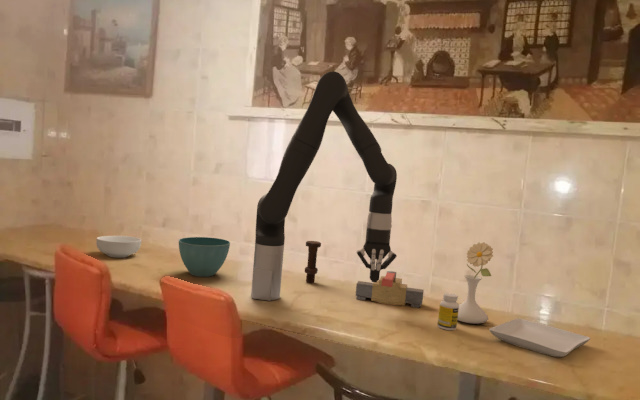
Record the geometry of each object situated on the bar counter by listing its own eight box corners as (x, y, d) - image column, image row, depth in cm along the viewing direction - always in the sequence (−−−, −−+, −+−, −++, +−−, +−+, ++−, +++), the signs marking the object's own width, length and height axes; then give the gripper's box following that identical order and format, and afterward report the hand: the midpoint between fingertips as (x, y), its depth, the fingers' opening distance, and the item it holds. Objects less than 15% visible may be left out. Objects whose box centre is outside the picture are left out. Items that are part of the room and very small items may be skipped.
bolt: (315, 285, 202) (318, 243, 201) (301, 283, 203) (305, 242, 202) (318, 281, 208) (321, 241, 207) (305, 279, 209) (308, 240, 208)
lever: (391, 288, 172) (392, 280, 172) (381, 287, 173) (382, 279, 173) (396, 278, 188) (396, 271, 188) (386, 277, 189) (387, 269, 189)
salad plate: (590, 347, 157) (592, 336, 157) (565, 364, 141) (566, 351, 141) (516, 327, 171) (518, 316, 171) (485, 340, 155) (487, 328, 155)
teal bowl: (191, 282, 191) (194, 246, 190) (167, 270, 205) (169, 237, 204) (237, 277, 203) (239, 244, 202) (211, 267, 217) (213, 236, 216)
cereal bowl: (149, 257, 226) (150, 239, 225) (114, 261, 212) (115, 243, 211) (121, 250, 235) (122, 233, 234) (86, 254, 221) (87, 236, 220)
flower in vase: (442, 316, 175) (450, 237, 173) (471, 315, 180) (480, 237, 178) (468, 329, 163) (477, 244, 161) (499, 327, 168) (508, 245, 166)
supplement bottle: (452, 332, 159) (456, 298, 159) (434, 327, 162) (438, 294, 161) (458, 327, 164) (462, 295, 163) (441, 323, 167) (444, 291, 166)
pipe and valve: (421, 308, 182) (423, 286, 181) (354, 299, 186) (356, 277, 186) (422, 303, 189) (424, 281, 188) (357, 294, 193) (359, 273, 193)
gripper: (397, 227, 179) (392, 280, 180) (356, 223, 178) (351, 277, 179) (402, 230, 172) (397, 285, 173) (359, 227, 171) (354, 283, 172)
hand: (373, 281), depth 176 cm, fingers closed
